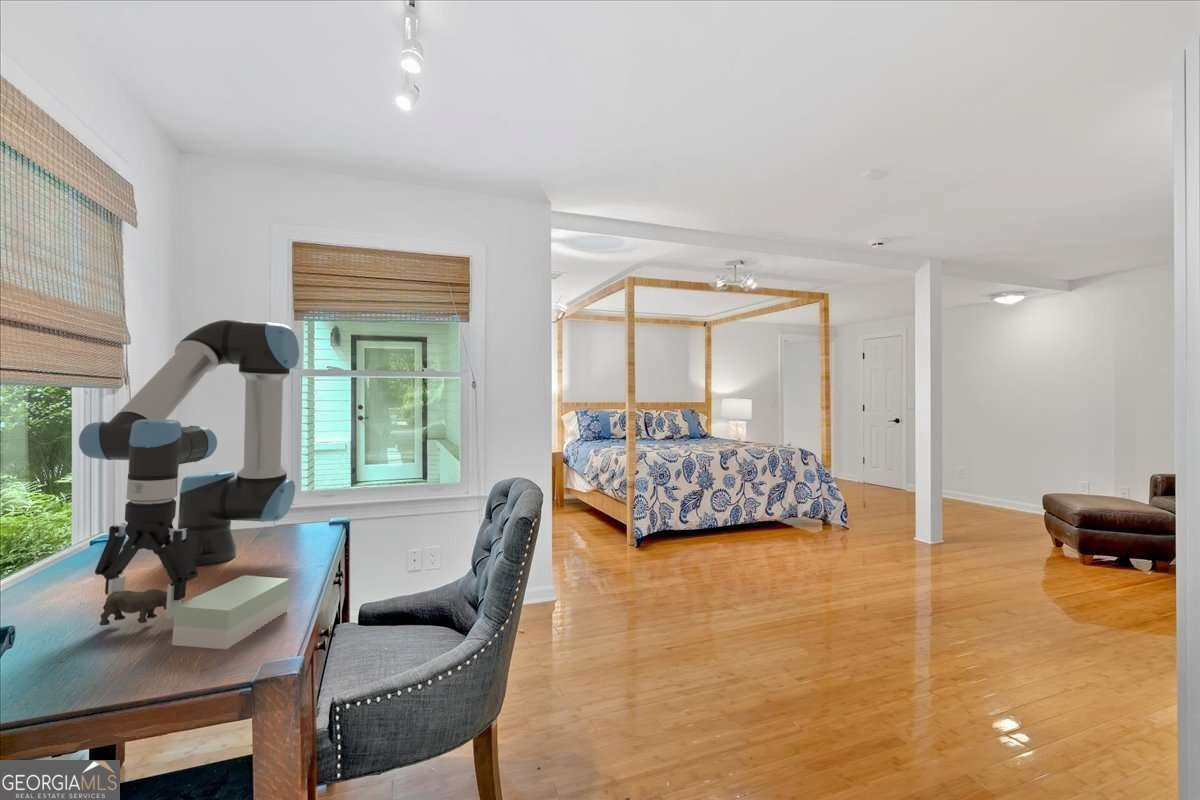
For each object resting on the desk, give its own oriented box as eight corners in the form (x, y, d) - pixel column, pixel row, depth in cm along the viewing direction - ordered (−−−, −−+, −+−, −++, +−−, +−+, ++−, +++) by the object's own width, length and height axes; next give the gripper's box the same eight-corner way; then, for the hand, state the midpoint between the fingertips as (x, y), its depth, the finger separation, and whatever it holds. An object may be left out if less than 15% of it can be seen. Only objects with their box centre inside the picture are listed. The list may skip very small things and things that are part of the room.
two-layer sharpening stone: (241, 608, 115) (243, 575, 115) (287, 611, 115) (289, 578, 115) (172, 645, 97) (175, 606, 97) (226, 649, 97) (229, 610, 97)
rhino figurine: (185, 621, 105) (187, 590, 105) (95, 627, 100) (97, 595, 100) (192, 612, 108) (194, 582, 108) (106, 618, 103) (108, 587, 103)
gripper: (73, 499, 101) (65, 616, 101) (195, 508, 100) (187, 626, 100) (111, 492, 108) (103, 601, 108) (224, 500, 107) (217, 611, 107)
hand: (144, 613), depth 104 cm, fingers closed on rhino figurine, 11 cm apart
